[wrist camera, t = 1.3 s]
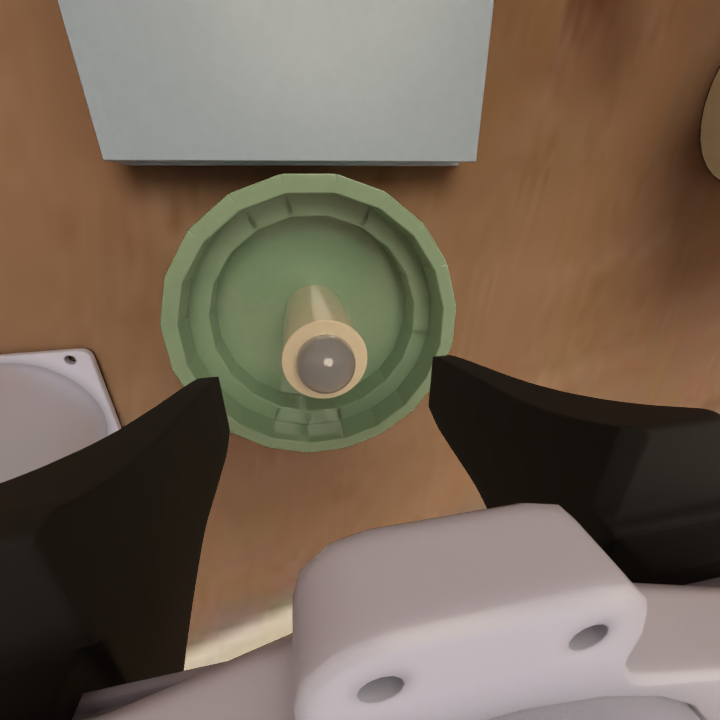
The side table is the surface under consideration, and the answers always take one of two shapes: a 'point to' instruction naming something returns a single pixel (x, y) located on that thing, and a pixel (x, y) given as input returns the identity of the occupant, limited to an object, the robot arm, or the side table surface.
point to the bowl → (284, 277)
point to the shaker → (321, 344)
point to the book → (282, 80)
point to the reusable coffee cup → (712, 128)
